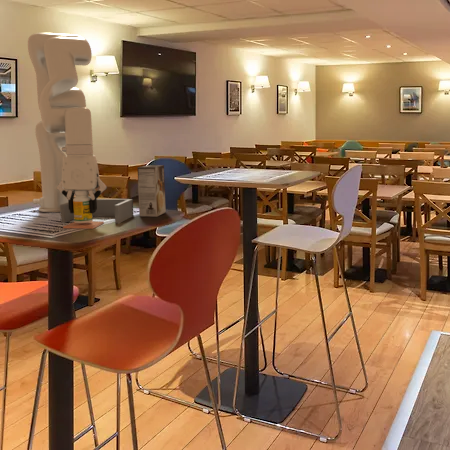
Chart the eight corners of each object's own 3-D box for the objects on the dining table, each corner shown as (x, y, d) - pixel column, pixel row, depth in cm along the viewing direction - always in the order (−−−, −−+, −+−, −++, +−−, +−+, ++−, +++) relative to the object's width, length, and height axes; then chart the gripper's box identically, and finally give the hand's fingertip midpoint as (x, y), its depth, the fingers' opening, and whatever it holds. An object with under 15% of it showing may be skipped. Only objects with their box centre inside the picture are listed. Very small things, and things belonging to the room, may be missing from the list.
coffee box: (148, 212, 199) (146, 165, 196) (166, 212, 198) (164, 165, 195) (138, 216, 190) (136, 166, 187) (157, 216, 189) (156, 166, 186)
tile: (63, 228, 170) (63, 226, 170) (75, 223, 178) (75, 221, 178) (93, 228, 168) (93, 226, 168) (103, 223, 177) (103, 221, 177)
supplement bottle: (82, 220, 177) (81, 188, 175) (96, 221, 174) (95, 189, 173) (70, 222, 172) (68, 190, 171) (84, 224, 170) (82, 191, 168)
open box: (61, 222, 180) (60, 205, 179) (79, 215, 194) (78, 198, 193) (119, 223, 177) (118, 205, 176) (133, 215, 192) (132, 199, 191)
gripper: (46, 151, 167) (50, 214, 170) (103, 151, 165) (106, 214, 168) (56, 150, 175) (60, 210, 178) (112, 150, 172) (115, 211, 176)
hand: (83, 212), depth 173 cm, fingers closed on supplement bottle, 5 cm apart
